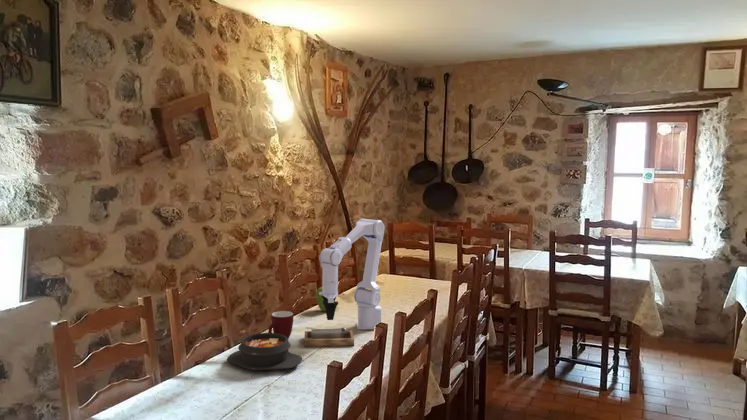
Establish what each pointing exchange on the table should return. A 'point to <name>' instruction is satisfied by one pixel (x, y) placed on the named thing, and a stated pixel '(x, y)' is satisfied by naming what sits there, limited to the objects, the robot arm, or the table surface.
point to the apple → (320, 300)
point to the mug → (282, 323)
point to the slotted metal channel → (328, 333)
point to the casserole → (264, 353)
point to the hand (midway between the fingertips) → (329, 316)
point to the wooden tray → (329, 341)
